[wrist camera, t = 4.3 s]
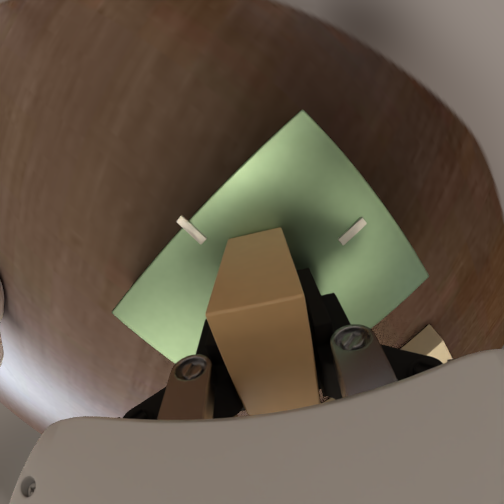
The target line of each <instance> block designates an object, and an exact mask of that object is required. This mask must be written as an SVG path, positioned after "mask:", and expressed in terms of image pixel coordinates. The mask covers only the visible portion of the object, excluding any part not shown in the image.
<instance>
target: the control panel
mask: <svg viewBox="0 0 504 504" xmlns="http://www.w3.org/2000/svg"><path fill="white" fill-rule="evenodd" d="M176 222H177V223H178V224H179V225H180V226H181V227H182V228H181V229H180V230H179V231H178V232H177V234H176V235H175V236H174V237H173V238H172V239H171V240H170V241H169V243H168V244H167V245H166V246H165V247H164V248H163V249H162V251H161V252H160V253H159V254H158V255H157V256H156V258H155V259H154V260H153V261H152V262H151V264H150V265H149V266H148V267H147V268H146V269H145V271H144V272H143V273H142V274H141V275H140V277H139V278H138V279H137V280H136V282H135V283H134V284H133V285H132V287H131V288H130V289H129V290H128V291H127V293H126V294H125V295H124V297H123V298H122V299H121V300H120V302H119V303H118V304H117V305H116V307H115V308H114V309H113V311H112V314H114V315H115V316H116V317H117V318H118V319H119V320H120V321H122V322H123V323H124V324H125V325H126V326H127V327H129V328H130V329H131V330H132V331H133V332H135V333H136V334H137V335H138V336H140V337H141V338H142V339H143V340H145V341H146V342H147V343H148V344H150V345H151V346H152V347H154V348H155V349H156V350H157V351H159V352H160V353H161V354H163V355H164V356H165V357H167V358H168V359H170V360H171V361H172V362H174V363H175V364H176V363H177V362H178V361H179V360H181V359H182V358H184V357H186V356H189V355H194V354H196V351H197V347H198V344H199V340H200V336H201V333H202V329H203V326H204V322H205V320H206V316H205V313H206V310H207V307H208V303H209V300H210V296H211V293H212V290H213V286H214V283H215V280H216V277H217V273H218V270H219V267H220V263H221V260H222V257H223V254H224V251H225V247H226V244H227V241H228V239H231V238H235V237H239V236H244V235H248V234H252V233H257V232H261V231H266V230H270V229H274V228H279V227H280V228H282V231H283V234H284V236H285V239H286V242H287V245H288V248H289V251H290V254H291V257H292V260H293V263H294V266H295V268H296V270H300V269H305V268H309V269H310V271H311V274H312V276H313V278H314V280H315V283H316V285H317V287H318V289H319V292H320V294H321V295H325V294H330V293H335V295H336V296H337V298H338V300H339V302H340V304H341V306H342V308H343V310H344V312H345V314H346V316H347V318H348V320H349V322H350V324H361V325H364V326H367V327H369V328H370V329H371V328H372V327H374V326H375V325H376V324H377V323H378V322H380V321H381V320H382V319H383V318H384V317H386V316H387V315H388V314H389V313H390V312H391V311H392V310H394V309H395V308H396V307H397V306H398V305H399V304H400V303H402V302H403V301H404V300H405V299H406V298H407V297H408V296H409V295H410V294H411V293H412V292H413V291H414V290H416V289H417V288H418V287H419V286H420V285H421V284H422V283H423V282H424V281H425V280H426V279H427V278H428V277H429V275H428V273H427V271H426V269H425V268H424V266H423V264H422V263H421V261H420V259H419V257H418V256H417V254H416V252H415V251H414V249H413V248H412V246H411V244H410V243H409V241H408V240H407V238H406V236H405V235H404V233H403V232H402V230H401V229H400V227H399V226H398V224H397V223H396V221H395V220H394V218H393V217H392V215H391V214H390V213H389V211H388V210H387V208H386V207H385V206H384V204H383V203H382V201H381V200H380V199H379V197H378V196H377V195H376V193H375V192H374V191H373V189H372V188H371V187H370V185H369V184H368V183H367V181H366V180H365V179H364V178H363V176H362V175H361V174H360V173H359V171H358V170H357V169H356V168H355V166H354V165H353V164H352V163H351V161H350V160H349V159H348V158H347V157H346V156H345V154H344V153H343V152H342V151H341V150H340V149H339V147H338V146H337V145H336V144H335V143H334V142H333V141H332V139H331V138H330V137H329V136H328V135H327V134H326V133H325V132H324V131H323V130H322V128H321V127H320V126H319V125H318V124H317V123H316V122H315V121H314V120H313V119H312V118H311V117H310V116H309V115H308V114H307V113H306V112H305V111H304V110H300V111H299V112H298V113H297V114H296V115H295V116H294V117H292V118H291V119H290V120H289V121H288V122H287V123H286V124H285V125H284V126H282V127H281V128H280V129H279V130H278V131H277V132H276V133H275V134H274V135H273V136H272V137H271V138H269V139H268V140H267V141H266V142H265V143H264V144H263V145H262V146H261V147H260V148H259V149H258V150H257V151H256V152H255V153H254V154H253V155H252V156H250V157H249V158H248V159H247V160H246V161H245V162H244V163H243V164H242V165H241V166H240V167H239V168H238V169H237V170H236V171H235V172H234V173H233V174H232V175H231V176H230V177H229V178H228V179H227V180H226V181H225V182H224V183H223V184H222V185H221V186H220V187H219V188H218V189H217V191H216V192H215V193H214V194H213V195H212V196H211V197H210V198H209V199H208V200H207V201H206V202H205V203H204V204H203V205H202V206H201V207H200V208H199V209H198V211H197V212H196V213H195V214H194V215H193V216H192V217H191V218H190V219H189V220H188V219H186V218H185V217H184V216H183V215H181V216H180V217H179V218H178V220H177V221H176Z"/></svg>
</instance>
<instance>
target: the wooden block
mask: <svg viewBox="0 0 504 504" xmlns="http://www.w3.org/2000/svg"><path fill="white" fill-rule="evenodd" d="M205 316H206V319H207V321H208V324H209V326H210V329H211V331H212V334H213V336H214V339H215V341H216V344H217V346H218V348H219V351H220V353H221V356H222V358H223V360H224V363H225V365H226V367H227V370H228V372H229V374H230V377H231V379H232V381H233V383H234V386H235V388H236V390H237V392H238V395H239V397H240V399H241V401H242V403H243V405H244V408H245V410H246V412H247V414H248V416H250V415H258V414H266V413H273V412H279V411H285V410H291V409H296V408H302V407H306V406H311V405H316V404H321V403H320V395H319V387H318V380H317V372H316V365H315V358H314V351H313V345H312V338H311V332H310V326H309V319H308V313H307V307H306V302H305V296H304V293H303V290H302V287H301V283H300V280H299V277H298V274H297V271H296V268H295V266H294V263H293V260H292V257H291V254H290V251H289V248H288V245H287V242H286V239H285V236H284V234H283V231H282V228H280V227H279V228H274V229H270V230H266V231H261V232H257V233H252V234H248V235H244V236H239V237H235V238H231V239H228V241H227V244H226V247H225V251H224V254H223V257H222V260H221V263H220V267H219V270H218V273H217V277H216V280H215V283H214V286H213V290H212V293H211V296H210V300H209V303H208V307H207V310H206V313H205Z"/></svg>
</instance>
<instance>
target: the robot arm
mask: <svg viewBox="0 0 504 504" xmlns="http://www.w3.org/2000/svg"><path fill="white" fill-rule="evenodd" d="M296 271H297V274H298V277H299V280H300V283H301V287H302V290H303V293H304V296H305V302H306V307H307V313H308V319H309V326H310V332H311V338H312V345H313V351H314V358H315V365H316V372H317V380H318V387H319V389H322V393H323V397H324V396H329V397H331V398H334V399H335V400H333V401H329V402H325V403H321V404H316V405H311V406H306V407H302V408H296V409H291V410H285V411H279V412H273V413H266V414H258V415H250V416H241V417H238V416H237V414H238V413H239V412H240V411H243V410H245V408H244V405H243V403H242V401H241V399H240V397H239V395H238V392H237V390H236V388H235V386H234V383H233V381H232V379H231V377H230V374H229V372H228V370H227V367H226V365H225V363H224V360H223V358H222V356H221V353H220V351H219V348H218V346H217V344H216V341H215V339H214V336H213V334H212V331H211V329H210V326H209V324H208V321H207V319H206V320H205V322H204V326H203V329H202V333H201V336H200V340H199V344H198V347H197V351H196V354H194V355H189V356H186V357H184V358H182V359H181V360H179V361H178V362H177V363H176V364H175V365H174V366H173V368H172V370H171V373H170V376H169V380H168V383H167V386H166V387H165V388H163V389H162V390H160V391H159V392H157V393H156V394H154V395H153V396H151V397H150V398H148V399H147V400H145V401H143V402H142V403H140V404H139V405H137V406H136V407H134V408H132V409H131V410H130V411H128V412H127V413H126V414H125V416H124V417H123V418H120V417H118V418H110V417H86V416H84V417H73V418H69V419H64V420H60V421H57V422H55V423H53V424H51V425H50V426H49V427H48V428H47V429H46V430H45V431H44V432H43V434H42V435H41V437H40V438H39V440H38V441H37V443H36V445H35V446H34V448H33V450H32V452H31V453H30V455H29V457H28V459H27V461H26V463H25V465H24V468H23V470H22V472H21V474H20V477H19V479H18V481H17V484H16V487H15V489H14V491H13V494H12V497H11V500H10V502H9V504H504V349H492V350H486V351H480V352H476V353H473V354H469V355H465V356H463V357H460V358H457V359H449V360H447V362H446V363H442V362H441V361H440V360H438V359H437V358H434V357H431V356H427V355H422V354H418V353H414V352H410V351H405V350H401V349H397V348H393V347H389V346H385V345H381V344H380V343H379V341H378V339H377V337H376V335H375V333H374V332H373V331H372V329H370V328H369V327H367V326H364V325H361V324H350V322H349V320H348V318H347V316H346V314H345V312H344V310H343V308H342V306H341V304H340V302H339V300H338V298H337V296H336V295H335V293H330V294H325V295H321V294H320V292H319V289H318V287H317V285H316V283H315V280H314V278H313V276H312V274H311V271H310V269H309V268H305V269H300V270H296Z"/></svg>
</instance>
